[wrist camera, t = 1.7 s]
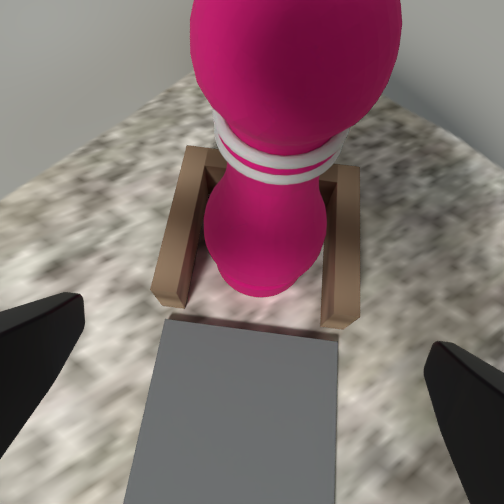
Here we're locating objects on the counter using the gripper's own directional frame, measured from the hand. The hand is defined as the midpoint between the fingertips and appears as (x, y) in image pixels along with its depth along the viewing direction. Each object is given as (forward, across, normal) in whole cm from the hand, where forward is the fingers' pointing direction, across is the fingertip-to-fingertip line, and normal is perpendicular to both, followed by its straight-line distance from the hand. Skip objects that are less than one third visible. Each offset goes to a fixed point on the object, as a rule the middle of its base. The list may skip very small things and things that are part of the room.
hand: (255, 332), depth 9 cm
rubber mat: (+8, 0, +12) cm, 14 cm away
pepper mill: (+16, 0, +4) cm, 16 cm away
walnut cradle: (+15, 0, +4) cm, 16 cm away
